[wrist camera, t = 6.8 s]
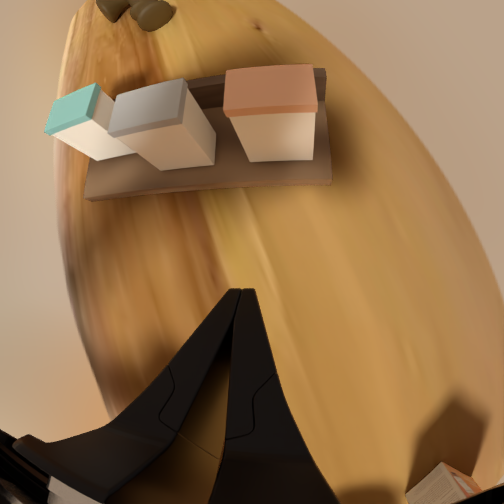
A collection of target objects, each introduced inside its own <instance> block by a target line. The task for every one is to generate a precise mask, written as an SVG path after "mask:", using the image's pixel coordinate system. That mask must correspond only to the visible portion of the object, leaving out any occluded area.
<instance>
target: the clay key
mask: <svg viewBox="0 0 504 504" xmlns="http://www.w3.org/2000/svg"><path fill="white" fill-rule="evenodd" d="M223 111H224V113H225V115H226V117H229V118H230V120H231V123H232V125H233V127H234V129H235V131H236V133H237V135H238V137H239V139H240V142H241V144H242V146H243V148H244V150H245V152H246V155H247V157H248V159H249V161H250V162H263V161H289V160H313V148H314V132H315V112H317V111H318V102H317V94H316V86H315V79H314V72H313V65H312V64H293V65H273V66H260V67H249V68H240V69H232V70H226V77H225V91H224V104H223Z"/></svg>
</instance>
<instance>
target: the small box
mask: <svg viewBox="0 0 504 504" xmlns="http://www.w3.org/2000/svg"><path fill="white" fill-rule="evenodd" d="M481 491H482V490H481V489H480V487H479V486H478V485H477V483H476V482H475V481H474V480H473V478H472V477H469V476H467V475H465V474H463V473H461V472H459V471H458V470H456V469H454V468H453V467H451V466H449V465H447V464H446V463H444V462H440V463H439V464H438V465H437V466H436V467H435V468H434V469H433V470H432V471H431V472H430V473H429V474H428V475H427V476H426V477H425V478H424V479H423V480H421V481H420V482H419V483H418V484H417V485H416V486H414V487H413V488H412V489H411V490H410V491H408V492H407V493H406V494H405V496H406V498H407V501H408V503H409V504H451V503H454V502H457V501H459V500H462V499H465V498H467V497H470V496H472V495H474V494H477V493H479V492H481Z"/></svg>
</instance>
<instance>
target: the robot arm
mask: <svg viewBox="0 0 504 504" xmlns="http://www.w3.org/2000/svg"><path fill="white" fill-rule="evenodd" d="M224 439H225V445H224V453H223V458H222V462H221V465H220V468H219V471H218V466H219V462H220V457H221V452H222V448H223V443H224ZM217 471H218V473H217ZM0 504H341V503H340V501H339V500H338V498H337V497H336V495H335V493H334V492H333V490H332V489H331V487H330V486H329V484H328V483H327V481H326V479H325V478H324V476H323V475H322V473H321V471H320V470H319V468H318V466H317V465H316V463H315V461H314V460H313V458H312V456H311V454H310V452H309V450H308V448H307V446H306V444H305V442H304V439H303V437H302V435H301V433H300V431H299V429H298V427H297V424H296V422H295V420H294V418H293V416H292V414H291V411H290V409H289V406H288V404H287V402H286V399H285V396H284V393H283V390H282V387H281V383H280V380H279V376H278V374H277V369H276V366H275V362H274V358H273V354H272V351H271V347H270V343H269V340H268V336H267V332H266V328H265V325H264V321H263V317H262V313H261V310H260V306H259V302H258V298H257V295H256V291H255V289H254V288H244V289H240V288H231V289H229V290H228V291H227V292H226V293H225V295H224V296H223V297H222V298H221V300H220V301H219V302H218V303H217V304H216V306H215V307H214V308H213V309H212V311H211V312H210V313H209V314H208V315H207V317H206V318H205V319H204V320H203V322H202V323H201V324H200V325H199V326H198V328H197V329H196V330H195V331H194V333H193V334H192V335H191V336H190V337H189V339H188V340H187V341H186V342H185V344H184V345H183V346H182V347H181V348H180V350H179V351H178V352H177V353H176V355H175V356H174V357H173V358H172V359H171V361H170V362H169V363H168V365H166V367H165V368H164V369H163V370H162V371H161V373H160V374H159V375H158V376H157V377H156V378H155V379H154V381H153V382H152V383H151V384H150V385H149V386H148V387H147V388H146V389H145V390H144V391H143V392H142V393H141V394H140V395H139V396H138V397H137V398H136V399H135V400H134V401H133V402H132V403H131V404H130V405H129V406H128V407H127V408H126V409H125V410H123V411H122V412H121V413H120V414H119V415H118V416H117V417H116V418H115V419H114V420H112V421H111V422H110V423H108V424H106V425H105V426H103V427H101V428H98V429H96V430H92V431H89V432H86V433H83V434H80V435H77V436H73V437H70V438H67V439H64V440H60V441H56V442H51V443H45V442H44V441H42V440H40V439H38V438H36V437H34V436H32V435H29V434H28V435H25V436H23V437H21V438H19V439H16V438H15V437H12V436H11V435H9V434H8V433H6V432H4V431H2V430H1V429H0ZM451 504H504V483H502V484H499V485H497V486H494V487H492V488H489V489H487V490H484V491H481V492H479V493H477V494H474V495H472V496H470V497H467V498H465V499H462V500H459V501H457V502H454V503H451Z"/></svg>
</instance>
